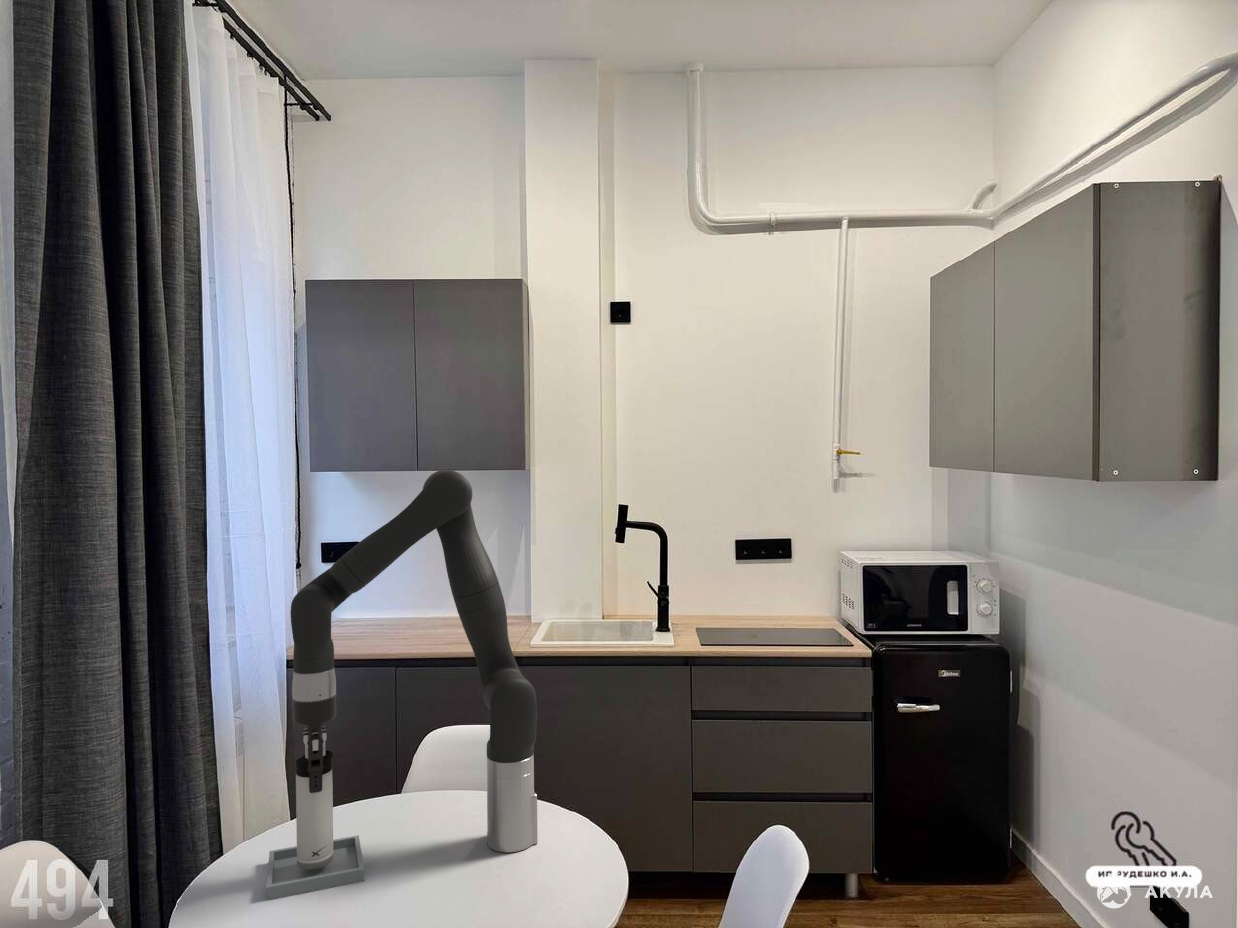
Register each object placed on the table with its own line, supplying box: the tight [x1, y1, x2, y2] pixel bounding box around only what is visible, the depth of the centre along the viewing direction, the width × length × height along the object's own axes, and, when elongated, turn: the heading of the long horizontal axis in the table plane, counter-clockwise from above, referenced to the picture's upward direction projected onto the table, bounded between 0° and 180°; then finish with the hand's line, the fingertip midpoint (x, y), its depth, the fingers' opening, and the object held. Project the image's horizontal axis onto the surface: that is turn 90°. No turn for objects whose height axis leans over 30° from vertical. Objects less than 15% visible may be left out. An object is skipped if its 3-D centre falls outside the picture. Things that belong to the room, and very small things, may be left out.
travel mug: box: [295, 749, 334, 870], centre depth 144 cm, size 6×7×20 cm
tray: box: [265, 834, 365, 901], centre depth 144 cm, size 16×14×2 cm
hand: (315, 784), depth 144 cm, fingers closed on travel mug, 6 cm apart
